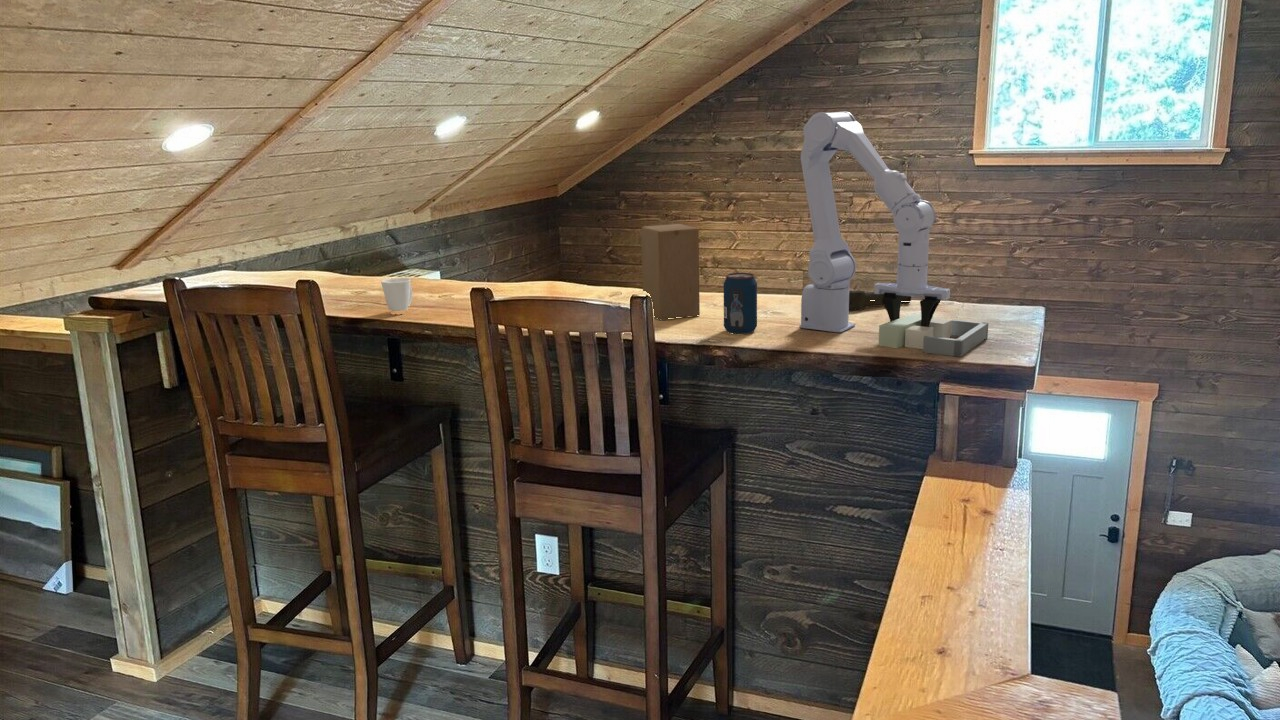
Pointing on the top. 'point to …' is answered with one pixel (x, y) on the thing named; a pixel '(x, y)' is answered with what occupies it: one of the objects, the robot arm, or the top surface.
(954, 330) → the grey frame
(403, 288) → the cup
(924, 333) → the block
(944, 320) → the block
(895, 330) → the sage green beam
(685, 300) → the wooden block
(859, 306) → the hand tool
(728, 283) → the soda can
